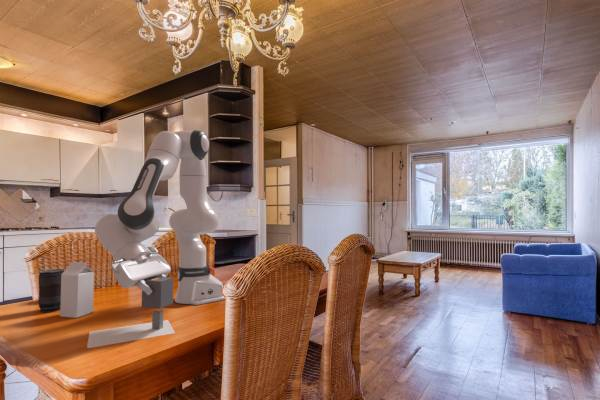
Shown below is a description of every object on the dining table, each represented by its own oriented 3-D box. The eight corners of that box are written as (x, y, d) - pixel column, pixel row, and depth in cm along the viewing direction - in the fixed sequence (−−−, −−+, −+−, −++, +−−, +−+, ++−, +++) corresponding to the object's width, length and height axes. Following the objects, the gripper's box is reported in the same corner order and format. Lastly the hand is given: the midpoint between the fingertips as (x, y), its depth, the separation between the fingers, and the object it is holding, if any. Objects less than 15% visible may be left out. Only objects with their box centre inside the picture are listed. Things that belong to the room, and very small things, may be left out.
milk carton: (76, 318, 116) (78, 264, 117) (59, 317, 117) (61, 263, 118) (93, 312, 123) (94, 261, 124) (77, 311, 124) (78, 260, 125)
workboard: (167, 324, 109) (167, 319, 110) (175, 338, 97) (175, 332, 97) (89, 336, 98) (89, 331, 98) (86, 354, 86) (86, 348, 86)
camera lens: (47, 307, 130) (48, 268, 130) (68, 306, 130) (69, 268, 131) (32, 313, 122) (33, 272, 122) (55, 312, 122) (56, 272, 123)
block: (155, 301, 105) (155, 275, 106) (173, 303, 104) (173, 276, 105) (141, 307, 99) (142, 279, 100) (160, 308, 98) (161, 280, 98)
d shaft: (157, 326, 103) (157, 310, 104) (164, 326, 103) (165, 310, 103) (152, 328, 101) (152, 312, 101) (159, 329, 100) (159, 312, 101)
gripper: (114, 254, 94) (143, 290, 91) (159, 247, 114) (184, 277, 111) (100, 269, 94) (129, 306, 92) (147, 260, 114) (172, 290, 112)
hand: (159, 290), depth 102 cm, fingers closed on block, 6 cm apart
